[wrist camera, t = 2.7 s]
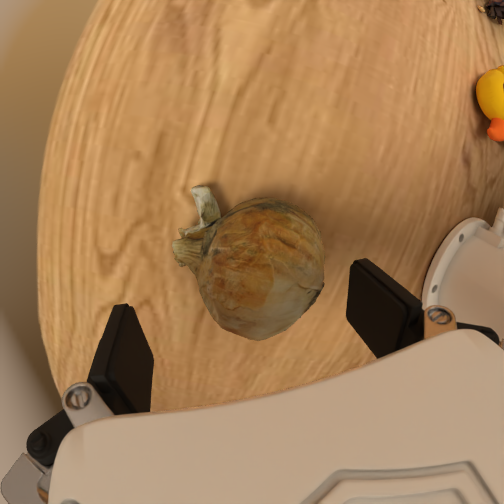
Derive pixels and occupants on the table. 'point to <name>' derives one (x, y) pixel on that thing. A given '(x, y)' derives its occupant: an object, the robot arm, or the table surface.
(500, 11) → the figurine
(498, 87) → the duckling
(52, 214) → the table surface
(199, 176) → the table surface
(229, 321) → the onion
